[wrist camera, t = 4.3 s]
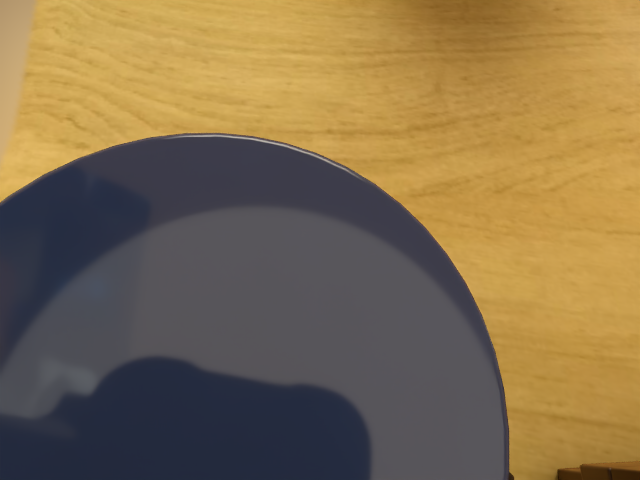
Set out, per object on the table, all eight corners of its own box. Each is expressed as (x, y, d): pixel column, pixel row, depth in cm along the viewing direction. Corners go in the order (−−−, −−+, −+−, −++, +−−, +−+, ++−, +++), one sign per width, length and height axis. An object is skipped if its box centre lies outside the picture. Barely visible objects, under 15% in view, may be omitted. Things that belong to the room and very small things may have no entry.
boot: (195, 536, 13) (-99, 1159, 2) (144, 383, 14) (-216, 221, 3) (441, 404, 15) (958, 338, 4) (378, 282, 16) (649, -21, 5)
